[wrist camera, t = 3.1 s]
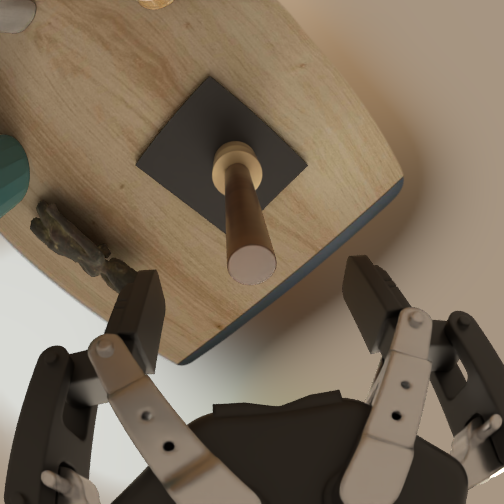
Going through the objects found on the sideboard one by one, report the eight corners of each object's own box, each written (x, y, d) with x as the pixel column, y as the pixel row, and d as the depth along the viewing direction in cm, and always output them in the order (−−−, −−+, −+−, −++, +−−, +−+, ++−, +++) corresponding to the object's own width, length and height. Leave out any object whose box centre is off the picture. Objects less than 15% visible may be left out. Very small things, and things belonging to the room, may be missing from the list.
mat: (136, 163, 29) (135, 165, 28) (209, 76, 25) (209, 75, 24) (232, 237, 34) (232, 239, 34) (306, 164, 30) (308, 165, 30)
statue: (47, 217, 33) (156, 302, 37) (21, 236, 28) (139, 331, 32) (55, 182, 29) (176, 275, 34) (25, 199, 25) (158, 305, 29)
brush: (204, 163, 29) (182, 270, 13) (233, 132, 27) (249, 199, 11) (236, 189, 31) (253, 316, 15) (265, 160, 29) (320, 260, 13)
